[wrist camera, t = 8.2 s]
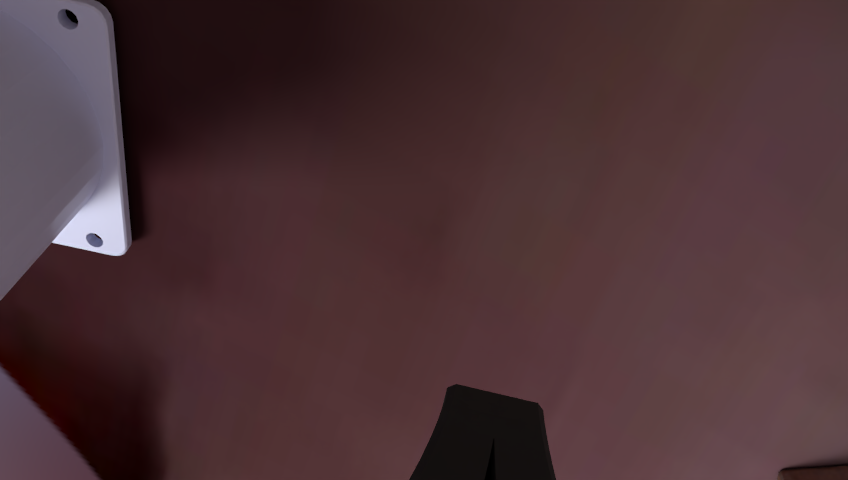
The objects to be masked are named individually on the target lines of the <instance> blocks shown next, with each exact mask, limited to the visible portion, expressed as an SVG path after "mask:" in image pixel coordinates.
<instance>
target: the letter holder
mask: <svg viewBox="0 0 848 480" xmlns="http://www.w3.org/2000/svg"><path fill="white" fill-rule="evenodd" d="M777 480H848V465H840V466H827V467H826V466H825V467H807V468H794V469H784V470H782V471H780V472H779V474H778V478H777Z"/></svg>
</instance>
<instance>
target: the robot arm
mask: <svg viewBox="0 0 848 480" xmlns="http://www.w3.org/2000/svg"><path fill="white" fill-rule="evenodd" d="M66 9H68V10H70V11H72V12H73V13H74V14H75V15H76V17H77V20H78V24H76V23H74V22H72V21H71V20H70V19H69V18H68V17H67V15H66V12H65V10H66ZM93 233H94V234H97V235H99V236H100V237H101V238H102V240H101V239H99V238H97V237H96V236H95V235H94V234H93ZM131 242H132V238H131V226H130V214H129V203H128V191H127V179H126V167H125V156H124V144H123V132H122V120H121V109H120V97H119V85H118V74H117V62H116V50H115V38H114V27H113V20H112V17H111V14H110V13H109V11H108V10H107V8H106V7H105V6H103V5H102V4H101V3H100V2H98V1H95V0H0V300H1V299H2V298H3V297H4V296H5V295H6V294H7V293H8V291H9V290H10V289H11V288H12V287H13V286H14V285H15V283H16V282H17V281H18V280H19V279H20V278H21V277H22V275H23V274H24V273H25V272H26V271H27V270H28V269H29V268H30V266H31V265H32V264H33V263H34V262H35V261H36V260H37V258H38V257H39V256H40V255H41V254H42V253H43V252H44V251H45V249H46V248H47V247H48V246H49V245H50V244H51V243H57V244H62V245H66V246H71V247H75V248H80V249H85V250H89V251H94V252H99V253H103V254H108V255H112V256H120V255H123V254H124V253H125V252H126V251H127V250H128V248H129V247H130V246H131ZM409 480H556V478H555V474H554V469H553V465H552V461H551V456H550V451H549V446H548V441H547V435H546V429H545V423H544V415H543V410H542V408H541V407H540V406H539V404H538V403H535V402H531V401H526V400H522V399H518V398H513V397H509V396H505V395H501V394H496V393H492V392H488V391H483V390H479V389H475V388H471V387H466V386H462V385H458V384H456V385H453V386H450V387H448V388H447V391H446V395H445V399H444V403H443V407H442V410H441V413H440V416H439V419H438V421H437V424H436V426H435V429H434V431H433V433H432V436H431V438H430V440H429V442H428V444H427V447H426V449H425V451H424V453H423V455H422V457H421V459H420V461H419V463H418V465H417V467H416V468H415V470H414V472H413V474H412V476H411V478H410V479H409Z"/></svg>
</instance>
